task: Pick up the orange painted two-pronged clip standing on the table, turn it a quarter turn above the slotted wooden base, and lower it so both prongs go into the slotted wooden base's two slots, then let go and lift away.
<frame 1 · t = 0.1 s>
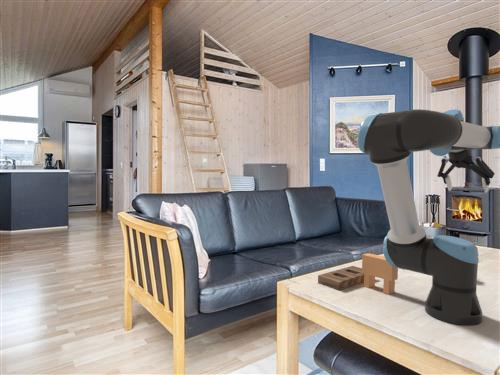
hand: (468, 189, 143), 36 cm above the table, tool tilted 35°, fingers open, 13 cm apart
clip: (378, 289, 126), on the table
beer glass: (421, 269, 153), on the table
slotted wooden base: (346, 280, 136), on the table
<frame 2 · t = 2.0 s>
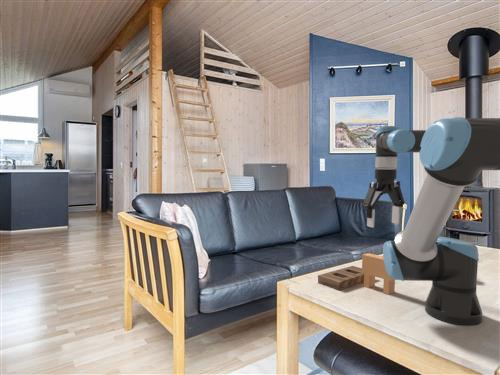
hand: (383, 225, 129), 23 cm above the table, tool pointing down, fingers open, 13 cm apart
nothing on the table moved.
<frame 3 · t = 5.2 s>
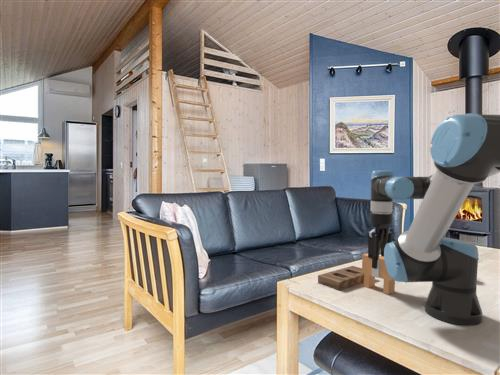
hand: (379, 275, 126), 5 cm above the table, tool pointing down, fingers closed on clip, 4 cm apart
clip: (378, 289, 126), on the table, touching gripper
everything else where it was.
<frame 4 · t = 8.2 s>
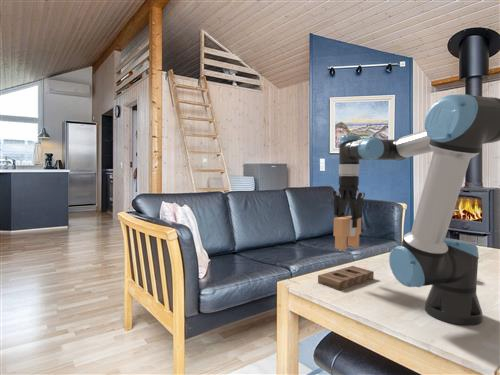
hand: (347, 234, 135), 18 cm above the table, tool pointing down, fingers closed on clip, 4 cm apart
clip: (347, 247, 135), point 13 cm above the table, touching gripper
everything else where it was.
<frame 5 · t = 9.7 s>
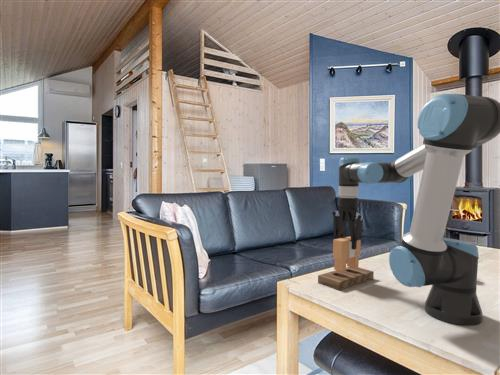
hand: (346, 255, 135), 10 cm above the table, tool pointing down, fingers closed on clip, 4 cm apart
clip: (346, 268, 135), point 5 cm above the table, touching gripper
everything else where it was.
when the fingers open (6 cm above the table, at t = 11.1 s): clip stays where it is, on the table.
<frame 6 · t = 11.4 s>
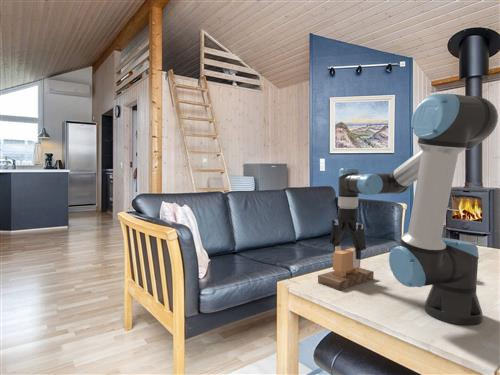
hand: (346, 264, 135), 7 cm above the table, tool pointing down, fingers open, 8 cm apart
clip: (346, 280, 136), on the table
everything else where it was.
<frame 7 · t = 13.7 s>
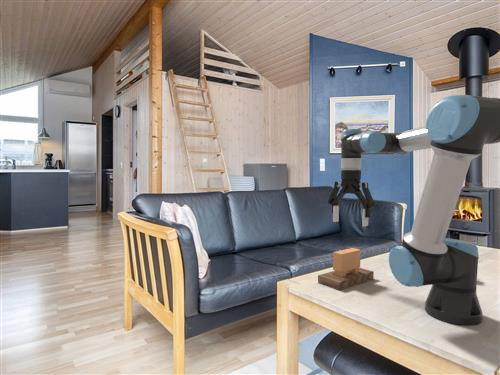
hand: (349, 223, 134), 23 cm above the table, tool pointing down, fingers open, 13 cm apart
nothing on the table moved.
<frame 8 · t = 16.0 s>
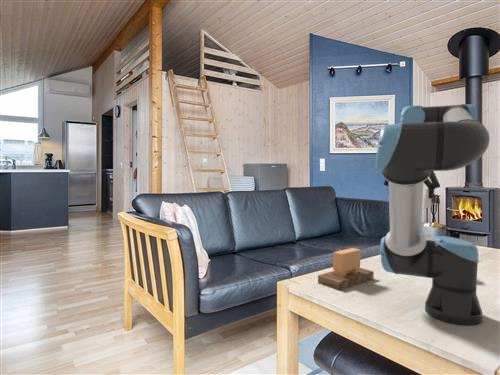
hand: (409, 205, 128), 31 cm above the table, tool pointing down, fingers open, 13 cm apart
nothing on the table moved.
at the end: clip 0.1 cm off-centre on the slotted wooden base, point 0.0 cm above the slotted wooden base's base; clip tilted 0°; the gripper is holding nothing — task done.
